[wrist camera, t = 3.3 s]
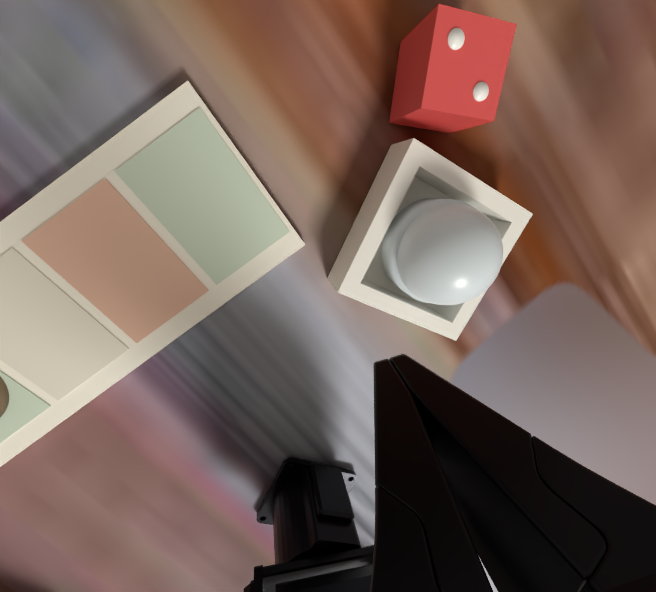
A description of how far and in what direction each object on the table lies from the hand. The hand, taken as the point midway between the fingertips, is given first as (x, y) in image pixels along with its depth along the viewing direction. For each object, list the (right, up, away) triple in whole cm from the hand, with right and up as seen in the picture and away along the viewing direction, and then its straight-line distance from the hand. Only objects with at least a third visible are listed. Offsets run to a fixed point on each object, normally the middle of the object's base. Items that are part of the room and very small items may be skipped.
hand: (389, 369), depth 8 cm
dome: (+4, +5, +12) cm, 14 cm away
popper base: (+4, +6, +13) cm, 15 cm away
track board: (-16, +2, +10) cm, 19 cm away
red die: (+4, +14, +10) cm, 18 cm away
